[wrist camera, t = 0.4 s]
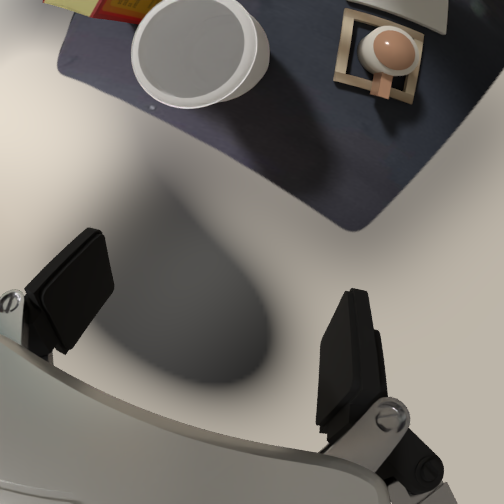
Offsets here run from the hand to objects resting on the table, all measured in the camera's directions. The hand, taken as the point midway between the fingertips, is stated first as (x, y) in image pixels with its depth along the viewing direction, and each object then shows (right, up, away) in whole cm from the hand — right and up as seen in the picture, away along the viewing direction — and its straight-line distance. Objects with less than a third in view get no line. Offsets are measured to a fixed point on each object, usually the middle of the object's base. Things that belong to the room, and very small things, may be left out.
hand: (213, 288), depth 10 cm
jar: (-1, +25, +19) cm, 31 cm away
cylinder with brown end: (+16, +23, +15) cm, 32 cm away
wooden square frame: (+16, +25, +15) cm, 33 cm away
